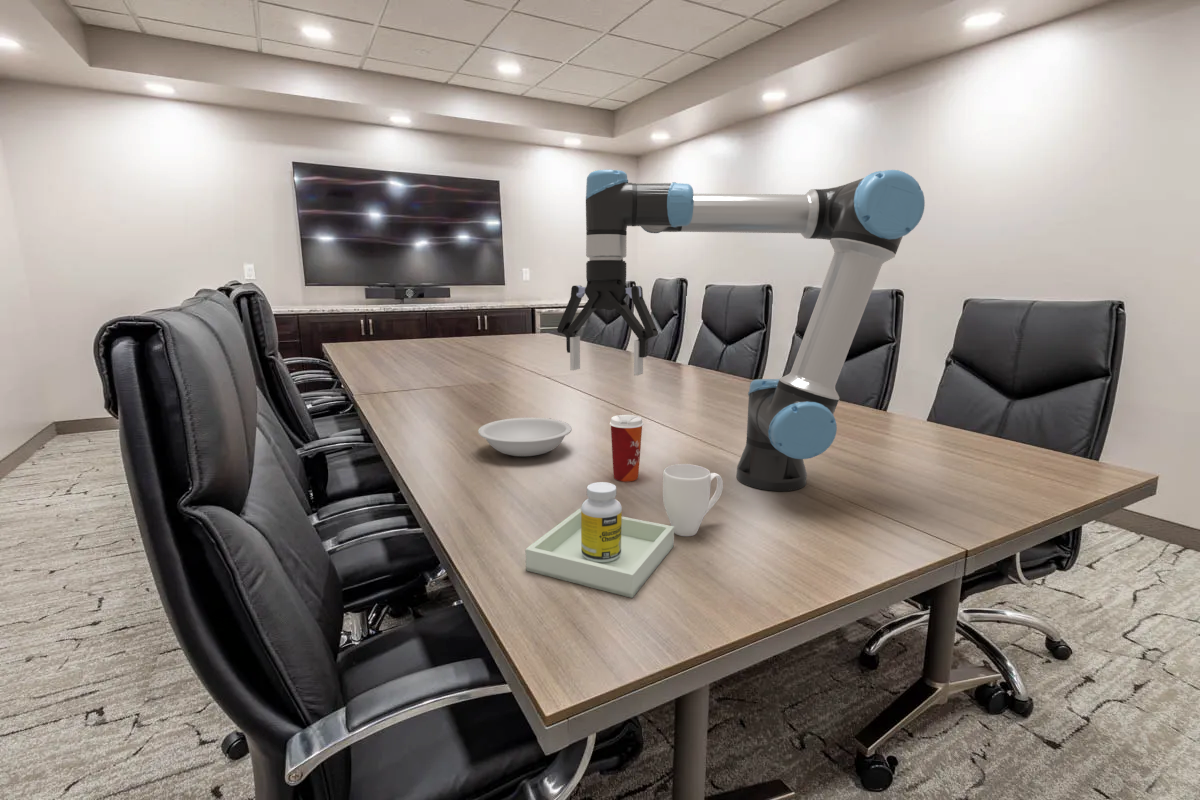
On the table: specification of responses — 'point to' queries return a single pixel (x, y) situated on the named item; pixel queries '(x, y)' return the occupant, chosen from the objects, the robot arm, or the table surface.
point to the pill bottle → (601, 523)
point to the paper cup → (626, 446)
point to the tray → (620, 576)
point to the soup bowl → (525, 435)
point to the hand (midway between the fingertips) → (606, 372)
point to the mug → (688, 496)
